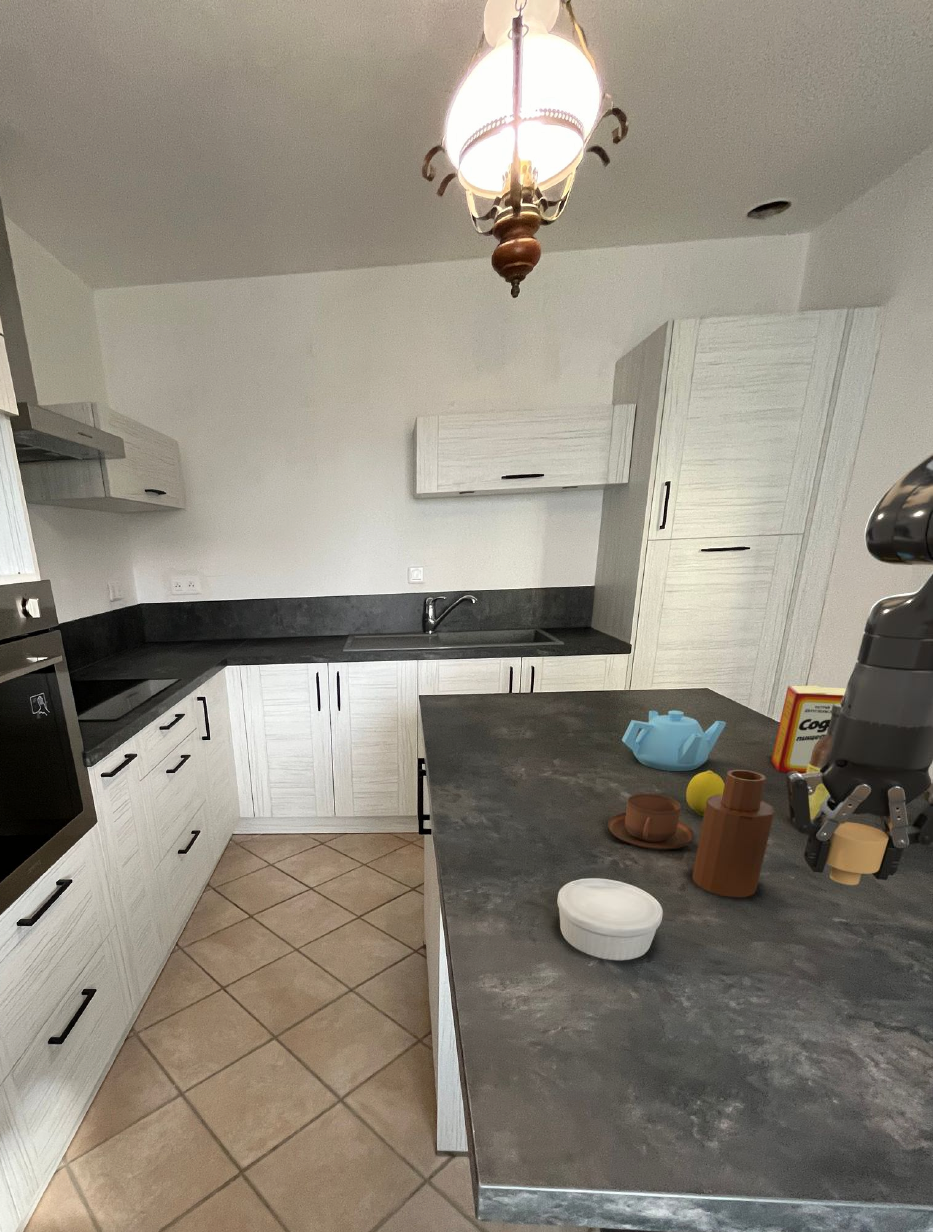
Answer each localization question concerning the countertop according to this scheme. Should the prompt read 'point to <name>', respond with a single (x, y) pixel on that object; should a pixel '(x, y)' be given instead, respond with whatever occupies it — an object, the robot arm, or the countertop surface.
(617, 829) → the cup and saucer
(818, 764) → the sauce bottle
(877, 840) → the bung
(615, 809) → the countertop surface
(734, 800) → the brown bottle
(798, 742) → the baking soda box
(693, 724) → the teapot
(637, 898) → the ramekin
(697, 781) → the lemon
